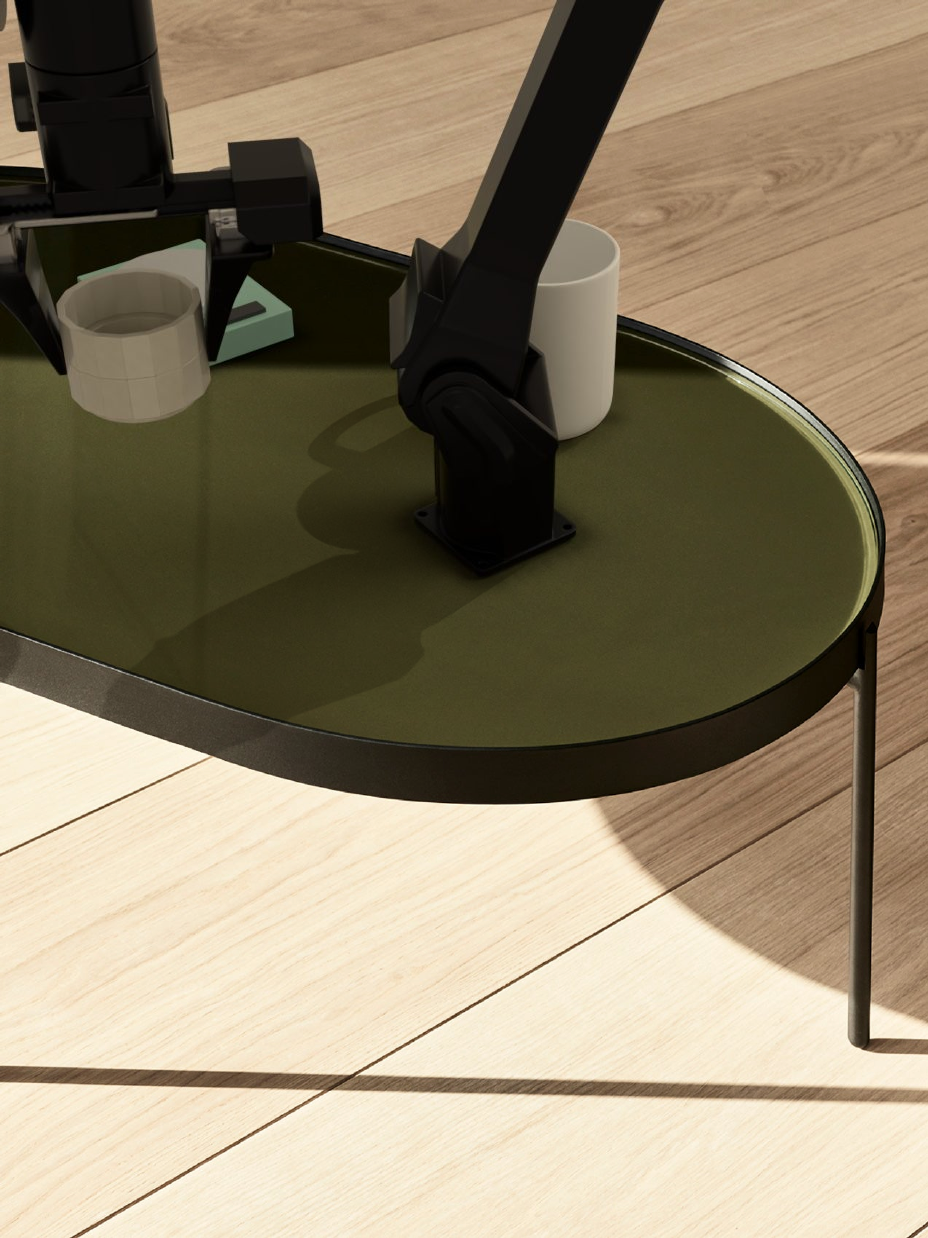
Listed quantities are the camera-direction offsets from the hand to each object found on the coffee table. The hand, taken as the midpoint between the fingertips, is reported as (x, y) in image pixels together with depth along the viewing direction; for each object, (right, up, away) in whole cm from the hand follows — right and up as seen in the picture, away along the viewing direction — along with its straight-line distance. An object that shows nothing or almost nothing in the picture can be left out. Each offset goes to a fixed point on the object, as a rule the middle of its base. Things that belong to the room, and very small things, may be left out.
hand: (138, 364), depth 83 cm
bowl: (0, -1, +1) cm, 2 cm away
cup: (+19, +1, +18) cm, 26 cm away
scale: (-2, +7, +25) cm, 26 cm away
